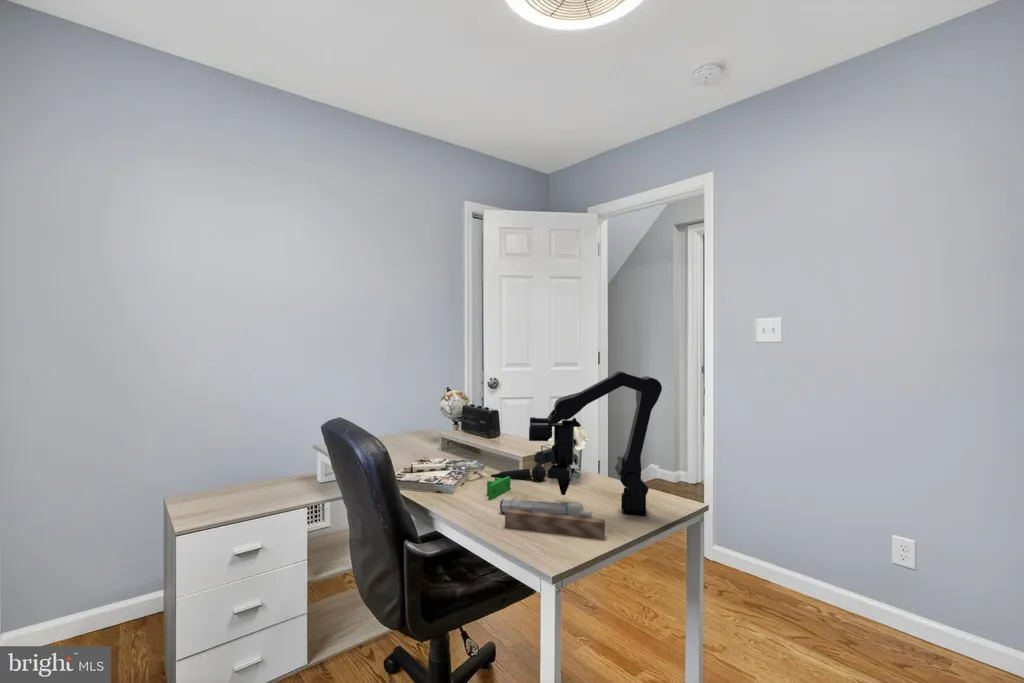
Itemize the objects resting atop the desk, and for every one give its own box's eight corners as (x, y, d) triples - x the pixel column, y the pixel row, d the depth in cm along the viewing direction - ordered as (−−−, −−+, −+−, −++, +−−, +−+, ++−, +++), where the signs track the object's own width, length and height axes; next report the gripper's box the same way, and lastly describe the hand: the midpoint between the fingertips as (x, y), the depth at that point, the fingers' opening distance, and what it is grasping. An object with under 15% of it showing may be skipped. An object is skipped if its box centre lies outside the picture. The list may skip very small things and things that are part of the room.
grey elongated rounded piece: (506, 495, 142) (587, 497, 131) (508, 518, 142) (590, 522, 131) (497, 501, 137) (582, 503, 126) (500, 525, 137) (585, 529, 126)
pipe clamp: (500, 488, 161) (501, 475, 161) (510, 490, 159) (510, 476, 159) (481, 498, 151) (481, 483, 151) (491, 500, 149) (491, 485, 149)
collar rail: (605, 532, 125) (605, 513, 125) (604, 538, 122) (604, 519, 121) (509, 521, 132) (509, 503, 132) (504, 526, 128) (505, 508, 128)
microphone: (491, 487, 172) (546, 484, 168) (488, 473, 170) (544, 470, 166) (494, 478, 177) (548, 475, 173) (491, 464, 175) (545, 461, 171)
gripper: (543, 433, 152) (542, 482, 152) (529, 446, 134) (528, 502, 134) (578, 435, 149) (578, 486, 149) (569, 449, 131) (568, 506, 131)
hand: (563, 494), depth 141 cm, fingers closed
